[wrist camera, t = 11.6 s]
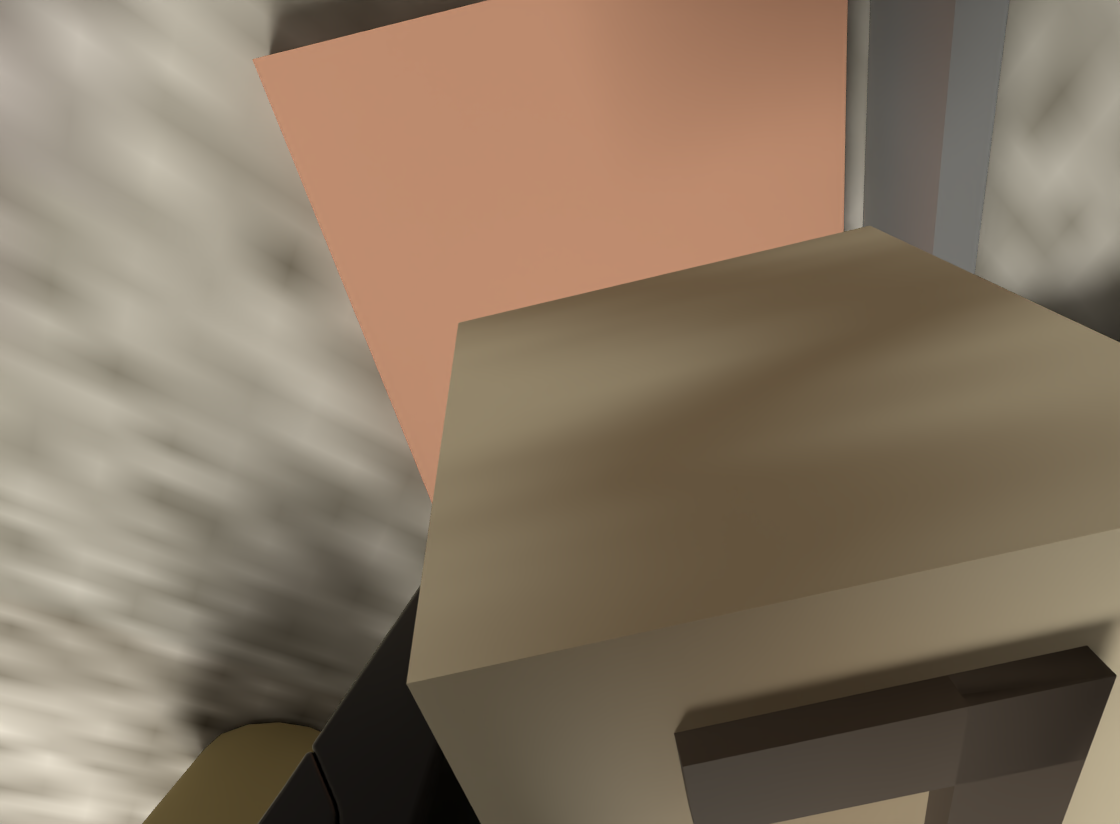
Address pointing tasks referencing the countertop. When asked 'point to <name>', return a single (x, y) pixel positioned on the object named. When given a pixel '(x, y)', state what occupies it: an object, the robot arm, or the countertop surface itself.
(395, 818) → the robot arm
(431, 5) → the countertop surface
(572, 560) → the letter cube
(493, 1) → the terracotta mat
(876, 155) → the grey rectangular frame
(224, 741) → the squeeze bottle
